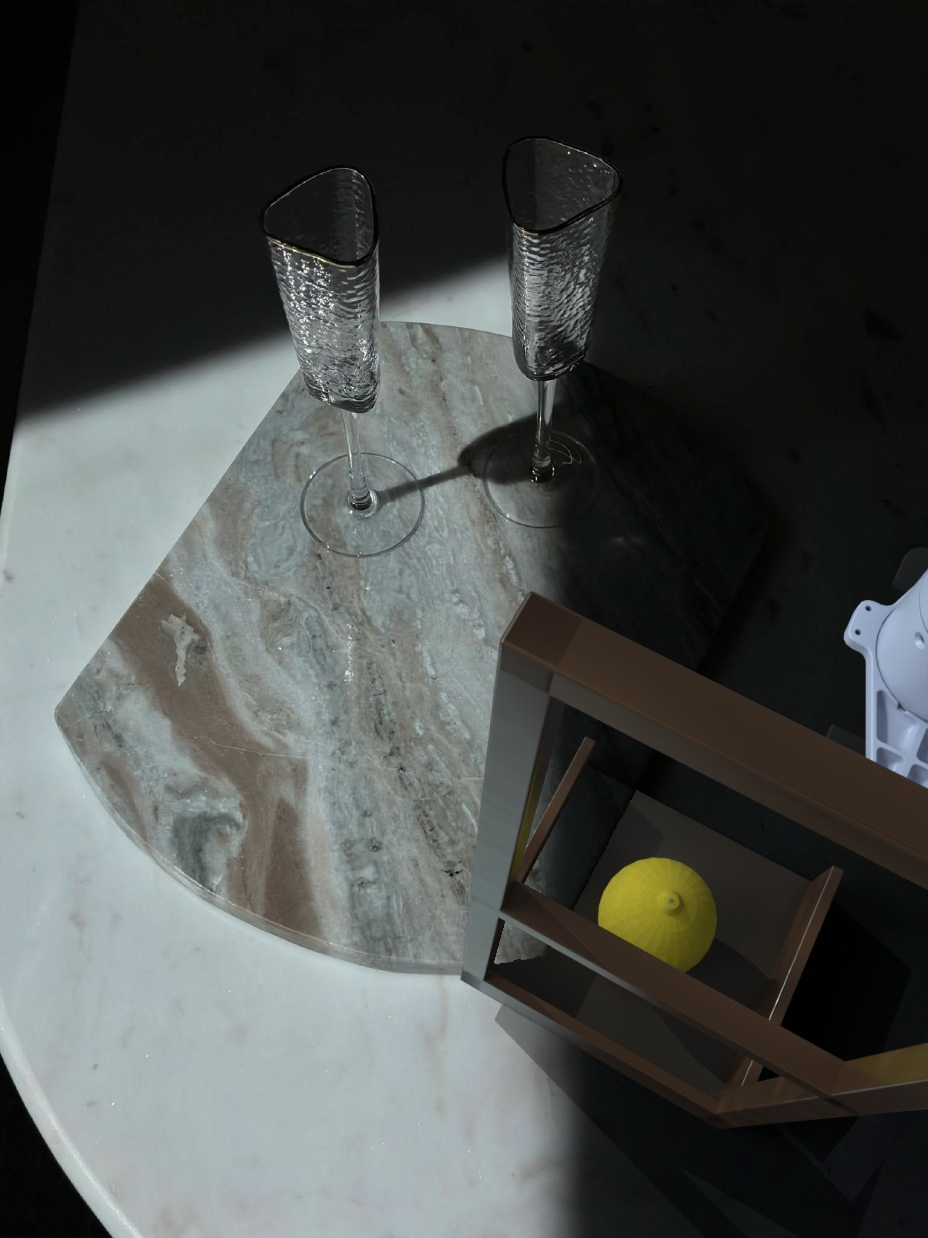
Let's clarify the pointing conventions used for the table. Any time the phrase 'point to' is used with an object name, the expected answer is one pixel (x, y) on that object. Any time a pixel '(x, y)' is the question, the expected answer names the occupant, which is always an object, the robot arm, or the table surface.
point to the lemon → (661, 910)
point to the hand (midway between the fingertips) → (870, 737)
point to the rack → (737, 877)
